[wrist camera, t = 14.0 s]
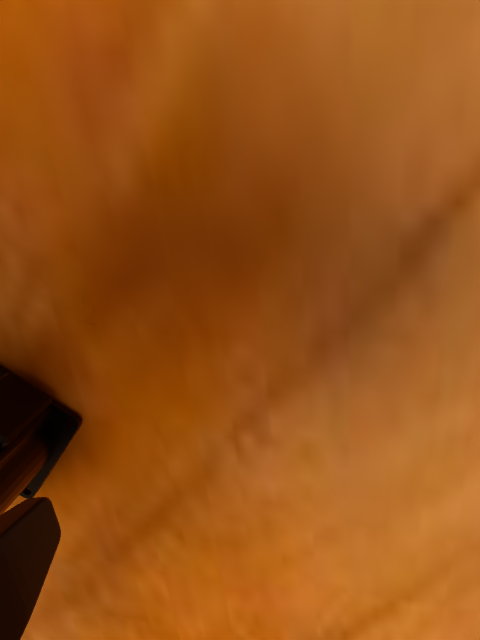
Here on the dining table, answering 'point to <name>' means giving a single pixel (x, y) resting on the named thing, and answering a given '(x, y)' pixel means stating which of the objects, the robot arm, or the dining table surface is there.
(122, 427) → the dining table surface
